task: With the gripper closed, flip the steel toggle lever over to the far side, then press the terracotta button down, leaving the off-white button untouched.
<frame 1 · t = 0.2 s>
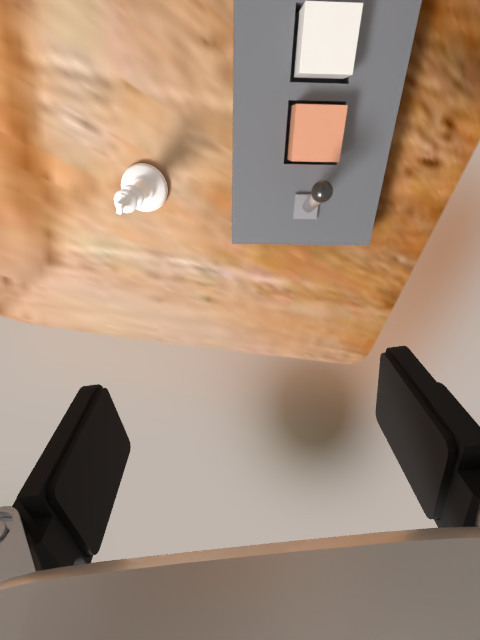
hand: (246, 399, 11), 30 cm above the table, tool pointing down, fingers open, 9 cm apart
chess piece: (145, 187, 36), on the table
button terracotta: (315, 134, 30), point 4 cm above the table, slide at 0.0 cm
toggle lever: (318, 195, 29), point 8 cm above the table, hinge at -25.0°
panel: (306, 133, 34), on the table
button white: (326, 43, 27), point 4 cm above the table, slide at 0.0 cm
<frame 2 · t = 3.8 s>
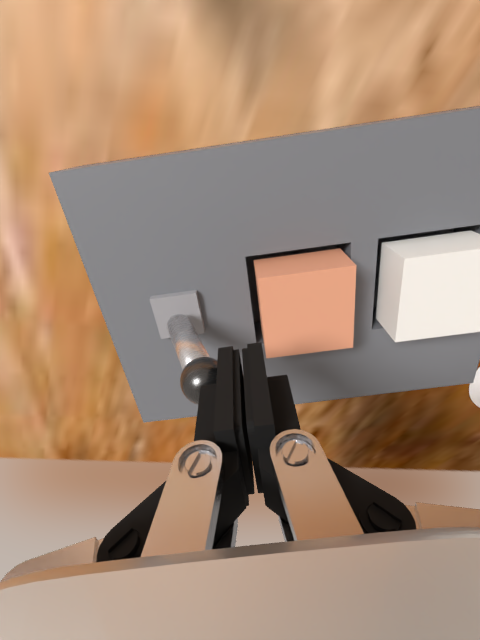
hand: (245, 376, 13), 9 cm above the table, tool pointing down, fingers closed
button terracotta: (303, 303, 17), point 4 cm above the table, slide at 0.0 cm
toggle lever: (196, 364, 14), point 8 cm above the table, hinge at -18.8°, touching gripper
panel: (289, 273, 21), on the table
button white: (432, 286, 17), point 4 cm above the table, slide at 0.0 cm
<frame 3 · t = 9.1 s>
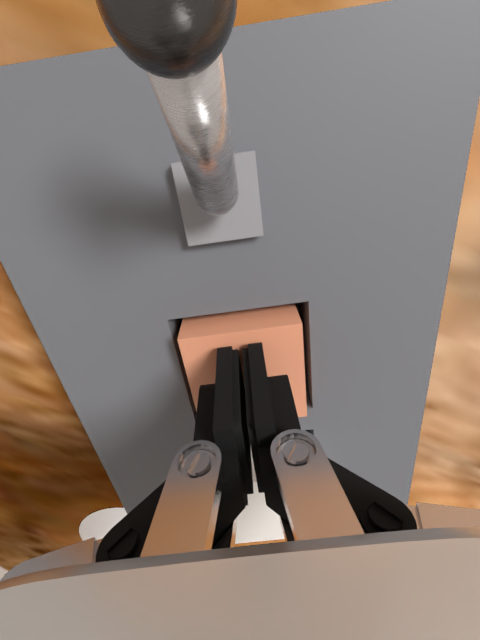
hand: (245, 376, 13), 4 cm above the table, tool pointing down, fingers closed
button terracotta: (245, 361, 14), point 3 cm above the table, slide at 1.2 cm, touching gripper
toggle lever: (186, 72, 5), point 8 cm above the table, hinge at 38.1°
champagne flute: (126, 532, 25), on the table
panel: (243, 324, 16), on the table
button white: (263, 486, 16), point 4 cm above the table, slide at 0.0 cm
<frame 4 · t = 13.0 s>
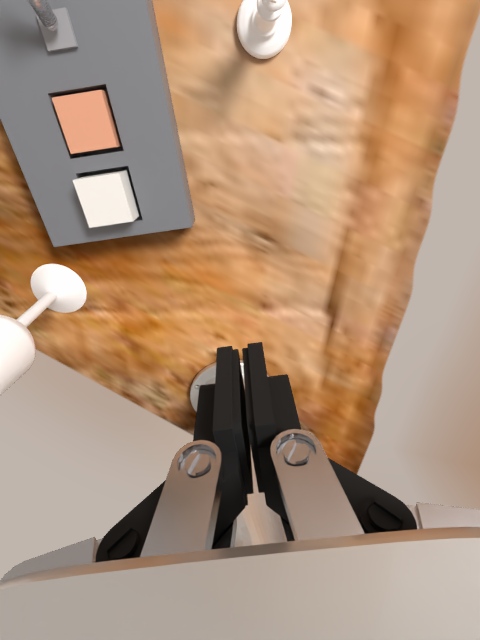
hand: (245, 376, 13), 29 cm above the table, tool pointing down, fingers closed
chess piece: (263, 25, 30), on the table
button terracotta: (90, 123, 31), point 3 cm above the table, slide at 1.6 cm
champagne flute: (59, 288, 42), on the table
panel: (100, 124, 33), on the table
button white: (107, 199, 33), point 4 cm above the table, slide at 0.0 cm
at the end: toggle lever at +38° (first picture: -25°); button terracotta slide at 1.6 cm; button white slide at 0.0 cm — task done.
